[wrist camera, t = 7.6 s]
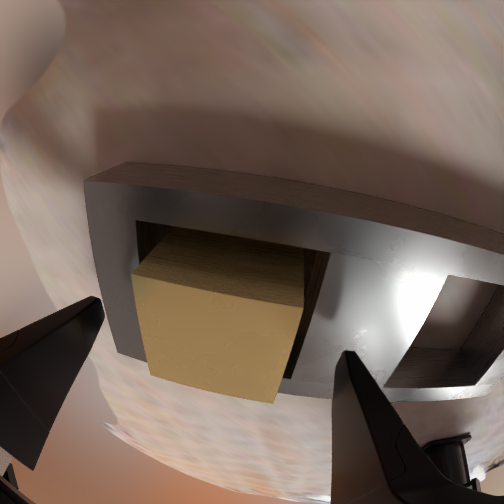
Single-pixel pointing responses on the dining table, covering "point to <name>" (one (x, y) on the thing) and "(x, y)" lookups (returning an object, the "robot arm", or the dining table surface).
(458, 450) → the robot arm
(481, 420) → the dining table surface
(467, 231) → the grey flat block
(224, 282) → the natural wood cube
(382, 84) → the dining table surface
